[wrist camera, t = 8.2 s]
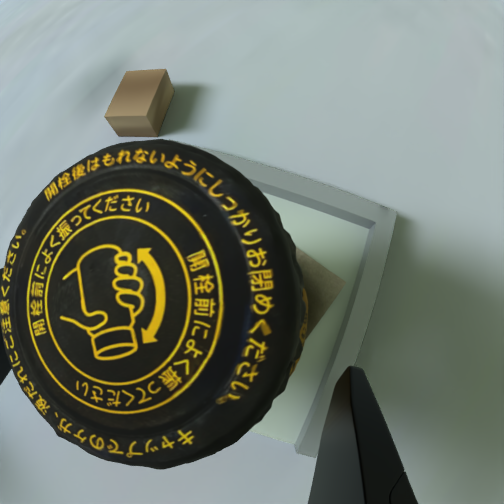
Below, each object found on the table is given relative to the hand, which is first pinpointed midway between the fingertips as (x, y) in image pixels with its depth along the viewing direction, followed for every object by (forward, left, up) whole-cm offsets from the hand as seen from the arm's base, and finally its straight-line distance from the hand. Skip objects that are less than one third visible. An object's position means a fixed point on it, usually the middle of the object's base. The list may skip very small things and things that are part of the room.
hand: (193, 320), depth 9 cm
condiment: (0, -1, -7) cm, 7 cm away
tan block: (+15, -2, -8) cm, 17 cm away
